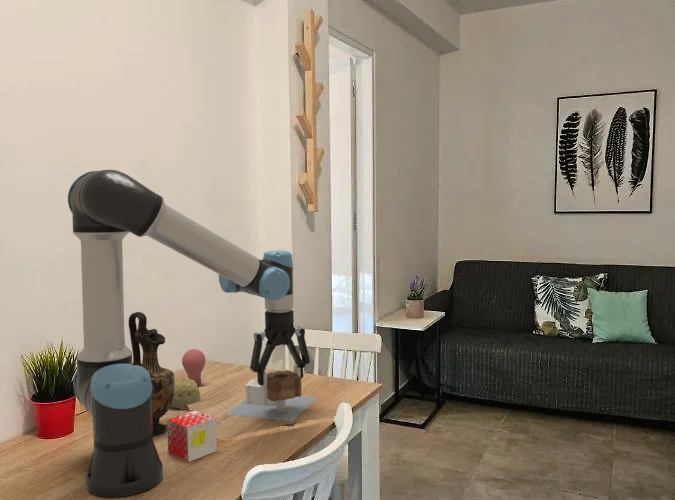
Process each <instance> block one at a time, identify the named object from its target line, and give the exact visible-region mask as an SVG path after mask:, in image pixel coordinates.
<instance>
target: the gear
mask: <svg viewBox="0 0 675 500" xmlns="http://www.w3.org/2000/svg"><path fill="white" fill-rule="evenodd" d="M244 398H245V399H244V400H245V402H246V403H252V404H258V405H269V406H270V405H274V403H276V401H271V399H267V398H264V397H263V396H261V385H259V384H258V381H257V377H254V378H252V379H251V380H249V381H247V383H246V384H244Z"/></svg>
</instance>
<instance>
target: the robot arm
mask: <svg viewBox="0 0 675 500" xmlns="http://www.w3.org/2000/svg"><path fill="white" fill-rule="evenodd" d="M67 203H68V208H69V210H70V213H72V214H71V215H72V233H73V235H74V236H75V237H77V238H78V240H79V241H80V254H81V255H80V257H81V258H80V262H81V264H80V265H81V292H82V293H81V295H82V322H83V324H82V326H83V327H82V329H83V349H81V351H80V352H79V353H78V354H77V355H76V371H75V374H74V377H73V391H74V392H73V393H74V394H75V397H76V399H77V400H78V402H79V404H81V406H83V407H84V408H85V409H86V411H87V412H88V413H89V414H90V415H91V419H92V429H93V430H92V431H93V434H92V435H93V452H92V455H91V459H90V462H89V464H88V469H87V472H86V474H85V475H86V477H85V480H86V481H85V483H86V490H87V491H88V492H89V493H91V494H92V495H94V496H98V497H103V498H123V497H129V496H133V495H137V494H140V493H143V492H146V491H148V490H150V489H152V488H154V487H156V486H157V485H158V484H159V483H160V482H161V481H162V480H163V476H164V471H163V470H164V469H163V467H164V466H163V462H162V461H161V458H160V456H159V455H160V454H159V453H158V450H157V448H156V445H155V442H154V435H153V426H152V396H151V392H152V384H151V380H150V374H149V373H148V371H147V370H146V369H145V368H143V367H141V366H138V365H133V351H132V349H130V348H128V347H127V346H126V341H125V340H126V339H125V337H126V336H125V301H124V298H125V297H124V265H123V264H124V261H123V260H124V258H123V257H124V256H123V253H124V252H123V240H124V238H125V237H126V236H127V235H129V233H130V234H132V235H135V236H136V237H139V238H143V237H146V236H147V237H149V238H150V239H152V240H154V241H156V242H158V243H160V244H162V245H164V246H165V247H167V248H169V249H171V250H173V251H175V252H177V253H179V254H180V255H183V256H184V257H185V258H188V259H189V260H192V261H193V262H195V263H197V264H199V265H201V266H203V267H205V268H206V269H207V270H208V269H209V270H211V271H212V272H214V273H216V274H217V275H218V281H219V287H220V288H221V290H222V291H223V292H225V293H227V294H228V293H229V294H230V293H234V294H236V293H246V294H249V295H253V296H257V297H261V298H263V299H264V309H265V312H264V325H265V328H264V330H263V331H261V332H254V333H253V338H254V344H253V349H252V355H251V360H250V367H249V370H251V371H253V373H257V375H256V376H257V381H258V384H259V385H261V396H263V397H264V398H268V396H267V373H268V372H266V368H267V366H268V363H269V361H270V360H271V357H272V355H273V352H274V350H275V349H276V347H278V346H281V345H284V346H285V345H286V347H287V349H288V350H289V353H290V354H291V356H292V358H293V360H294V362H295V364H296V365H293V372H294V373H296V374H297V375H299V377H301V380H302V379H303V378H304V368H305V367H306V365H309V364H310V362H311V360H310V355H309V351H308V348H307V343H306V338H305V336H306V335H305V334H306V330H305V328H303V327H300V326H299V327H295V326H294V322H295V320H294V319H295V317H294V312H295V311H294V310H293V308H294V306H295V305H294V264H293V263H294V262H293V255H292V252H290V251H288V250H269V251H265V252H264V253H263V257H262V259H259V258H258V257H256V256H255V255H253V254H251V253H250V252H248V251H246V250H244V249H243V248H241V247H239V246H238V245H236V244H235V243H232V242H230V241H229V240H227V239H225V238H224V237H222V236H220V235H219V234H217V233H215V232H213V231H211V230H210V229H208V228H207V227H205V226H203V225H201V224H200V223H197V222H196V221H194V220H192V219H191V218H189V217H187V216H186V215H184V214H182V213H180V212H179V211H177V210H175V209H174V208H172V207H171V206H169V205H167V204H166V202H165V199H164V197H163V196H161V195H159V194H158V193H156V192H155V191H153V190H152V189H149V188H148V187H147V186H145V185H144V184H143V183H141V182H139V181H137V180H136V179H134V178H133V177H131V175H129V174H126V173H124V172H122V171H119V170H115V169H101V170H91V171H88V172H85V173H83V174H81V175H79V176H78V177H77V178H76V179H75V180H74V181H73V183H72V184H71V185H70V188H69V190H68V192H67ZM294 335H295V336H296V339H297V344H298V348H299V349H298V350H299V352H298V350H297V348H296V346H295V342H294V341H293V339H292V337H294ZM265 338H266V339H267V341H266V343H265V347H264V350H263V353H262V348H263V341H265V340H264V339H265ZM261 353H262V354H261ZM299 353H300V354H299Z"/></svg>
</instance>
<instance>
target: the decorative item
mask: <svg viewBox="0 0 675 500" xmlns="http://www.w3.org/2000/svg"><path fill="white" fill-rule="evenodd" d="M200 399H201V392H200V388H199V386H198V385H197V383H196V382H195V381H194V380H191V379H189V378H188V377H186V378H185V377H181V376H177V377H176V378H175V387H174V394H173V399H172V402H171V405H170V408H169V409H171V408H172V409H179V410H189V409H190V408H189V406H188V405H191V404H194V403H196V402H199V400H200Z"/></svg>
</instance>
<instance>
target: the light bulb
mask: <svg viewBox="0 0 675 500" xmlns="http://www.w3.org/2000/svg"><path fill="white" fill-rule="evenodd" d="M206 362H207V361H206V356H205V354H204V353H203V351H202V350H200V349H197V348H191V349H188V350H187V351H186V352H185V353H184V354H183V355H182V359H181V364H182V367H183V369H184V371H185V373H186V374H187V379H191V380H194V381H195V382H196V383H197V385H198V387H200V386H202V383H203V382H202V379H201V376H202V372H203V369H204V368H205V366H206Z"/></svg>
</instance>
